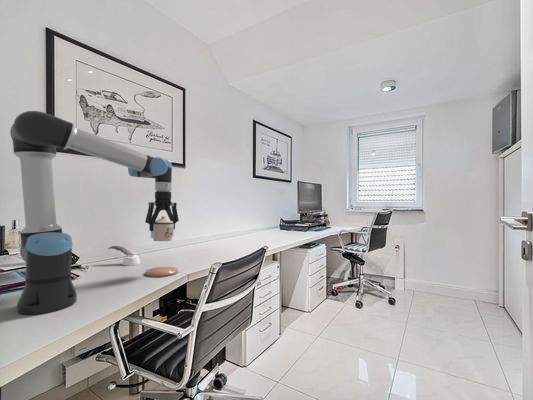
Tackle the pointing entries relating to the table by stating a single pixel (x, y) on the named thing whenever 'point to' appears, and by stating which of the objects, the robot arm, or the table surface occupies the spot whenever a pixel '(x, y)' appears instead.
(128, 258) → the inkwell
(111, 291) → the table surface
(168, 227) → the teacup with lid
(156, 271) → the dish
